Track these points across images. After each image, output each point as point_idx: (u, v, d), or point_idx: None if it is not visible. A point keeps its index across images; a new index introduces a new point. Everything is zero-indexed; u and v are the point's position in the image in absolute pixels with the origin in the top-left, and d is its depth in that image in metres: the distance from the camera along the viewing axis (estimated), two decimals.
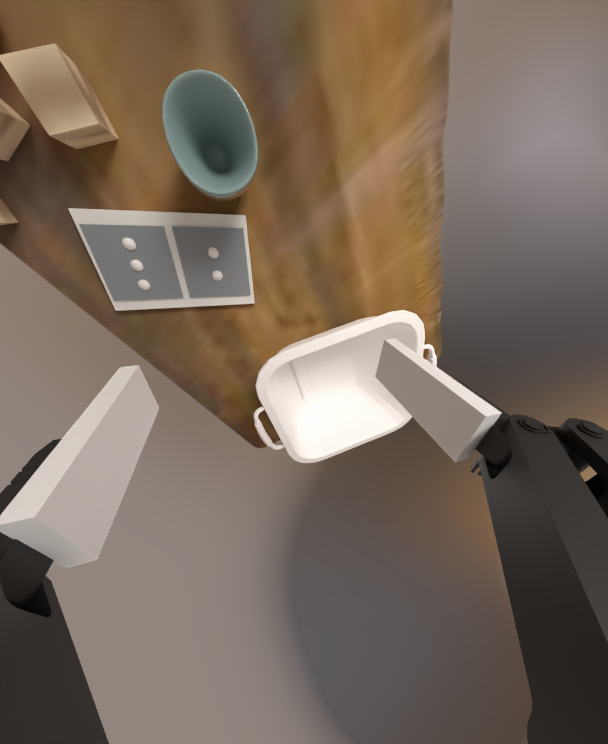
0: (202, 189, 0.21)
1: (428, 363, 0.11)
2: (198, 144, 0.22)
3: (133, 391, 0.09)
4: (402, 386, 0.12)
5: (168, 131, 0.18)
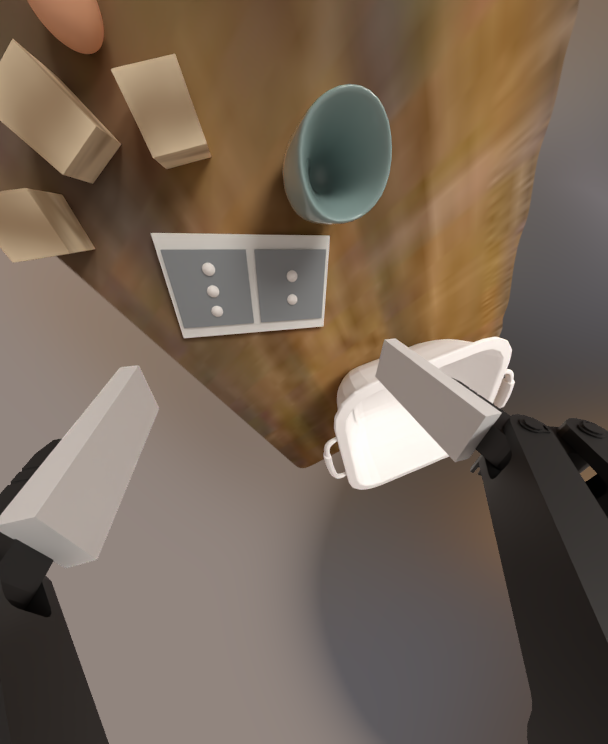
0: (323, 217, 0.18)
1: (428, 363, 0.11)
2: (309, 164, 0.20)
3: (133, 391, 0.09)
4: (402, 386, 0.12)
5: (302, 154, 0.16)
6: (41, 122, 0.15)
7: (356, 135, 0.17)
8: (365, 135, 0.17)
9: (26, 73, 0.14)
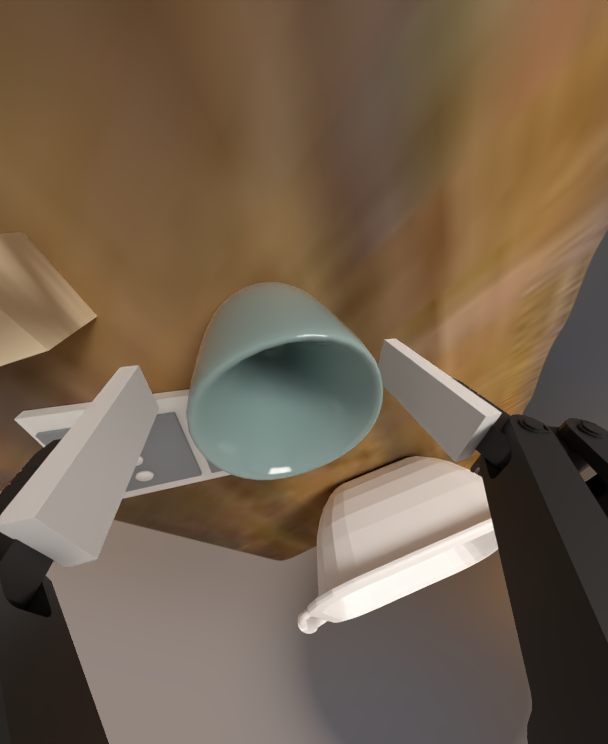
0: None
1: (428, 363, 0.11)
2: None
3: (132, 391, 0.09)
4: (402, 386, 0.12)
5: (200, 433, 0.08)
6: None
7: (319, 345, 0.09)
8: (334, 354, 0.09)
9: None
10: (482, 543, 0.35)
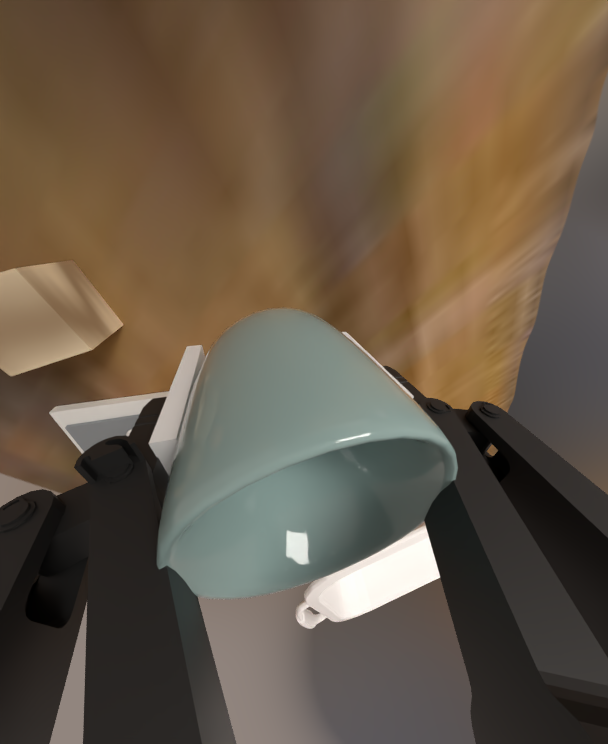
0: None
1: (367, 354, 0.12)
2: None
3: None
4: None
5: (181, 569, 0.05)
6: None
7: None
8: None
9: None
10: None
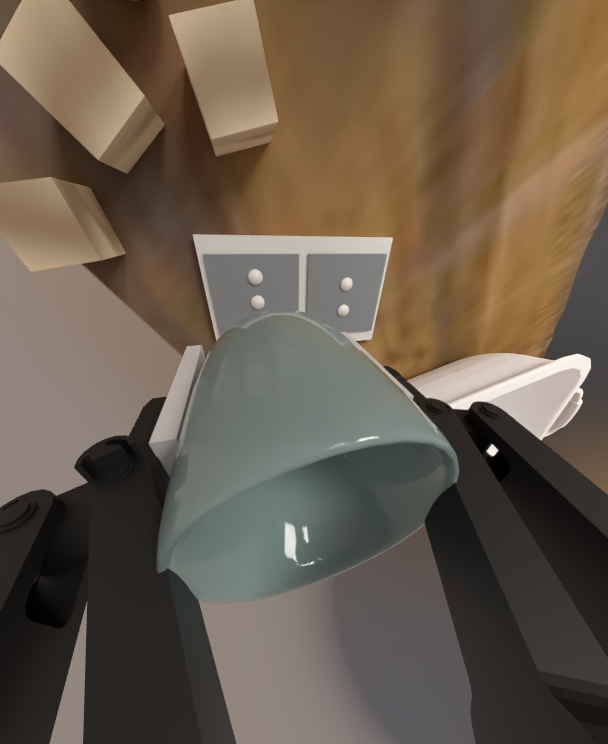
0: None
1: (367, 354, 0.12)
2: None
3: (201, 365, 0.11)
4: None
5: (181, 573, 0.05)
6: (74, 89, 0.11)
7: None
8: None
9: (57, 18, 0.10)
10: None
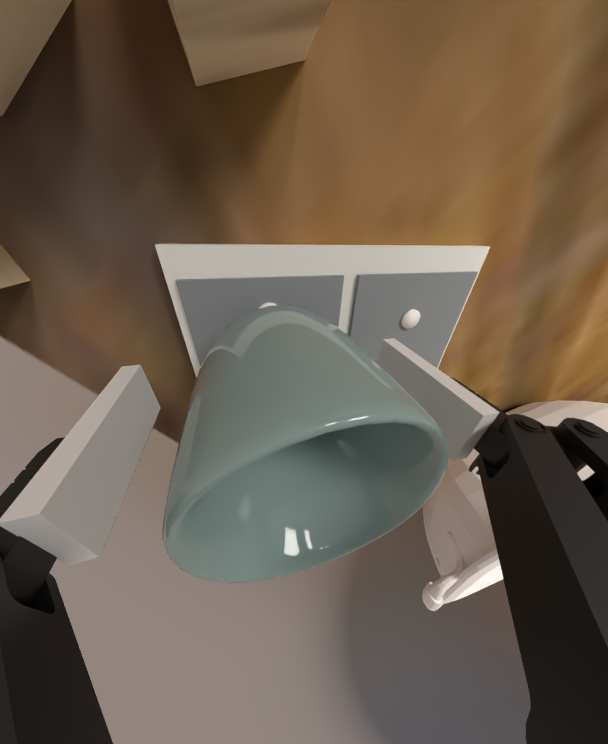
0: None
1: (426, 363, 0.11)
2: None
3: (134, 390, 0.09)
4: None
5: (186, 549, 0.05)
6: None
7: None
8: None
9: None
10: None
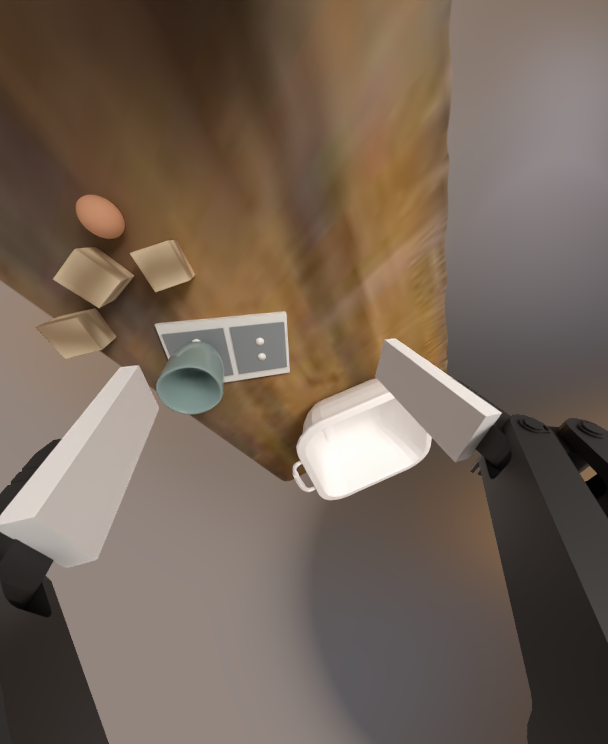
0: (185, 413, 0.30)
1: (428, 363, 0.11)
2: (183, 371, 0.31)
3: (133, 391, 0.09)
4: (402, 386, 0.12)
5: (160, 394, 0.27)
6: (88, 284, 0.25)
7: None
8: None
9: (81, 262, 0.24)
10: (420, 442, 0.51)
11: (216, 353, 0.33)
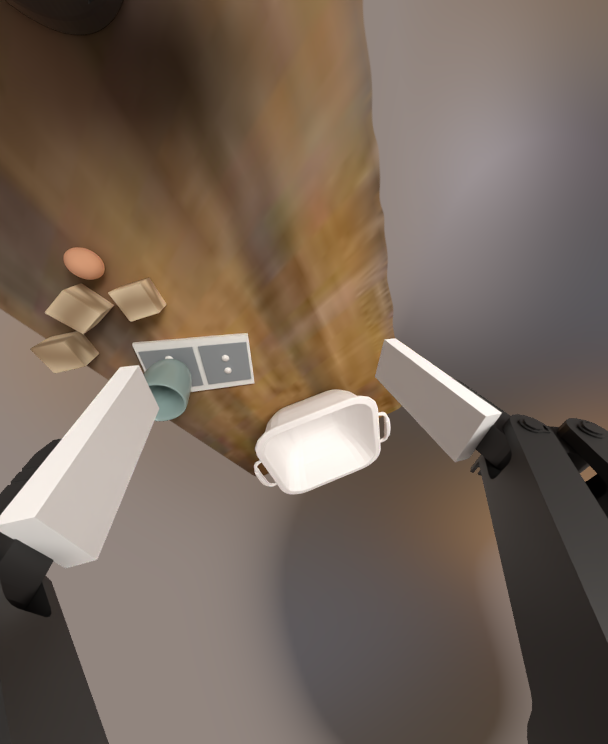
0: (155, 420, 0.36)
1: (428, 363, 0.11)
2: (155, 384, 0.37)
3: (133, 391, 0.09)
4: (402, 386, 0.12)
5: None
6: (73, 316, 0.31)
7: None
8: None
9: (67, 300, 0.30)
10: (372, 445, 0.58)
11: (184, 369, 0.39)
